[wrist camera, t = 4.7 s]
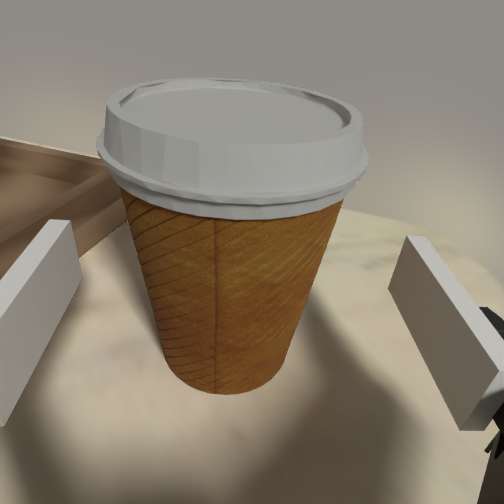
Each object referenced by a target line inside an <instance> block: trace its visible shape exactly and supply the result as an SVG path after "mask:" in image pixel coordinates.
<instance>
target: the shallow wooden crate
mask: <svg viewBox="0 0 504 504" xmlns="http://www.w3.org/2000/svg"><path fill="white" fill-rule="evenodd" d="M126 213H127V212H126V210H125V206H124V203H123V199H122V195H121V192H120V188H119V185H118V184H117V183H116V181H115V180H114V179H113V177H112V176H111V175H110V172H109V168H107V166H106V165H105V163H104V162H103V161H102V159H98V158H93V157H89V156H84V155H79V154H74V153H69V152H64V151H59V150H54V149H49V148H44V147H40V146H35V145H30V144H25V143H20V142H15V141H10V140H5V139H0V280H1V279H2V277H3V276H4V275H5V274H6V272H7V271H8V270H9V269H10V268H11V266H12V265H13V264H14V263H15V261H16V260H17V259H18V258H19V256H20V255H21V254H22V253H23V251H24V250H25V249H26V248H27V246H28V245H29V244H30V243H31V241H32V240H33V239H34V238H35V237H36V235H37V234H38V233H39V232H40V230H41V229H42V228H43V227H44V225H45V224H46V223H47V222H48V220H49V219H53V220H70V221H71V226H72V230H73V235H74V239H75V244H76V248H77V253H78V258H79V257H81V256H82V255H83V254H84V253H86V252H87V251H88V250H89V249H91V248H92V247H93V246H94V245H96V244H97V243H98V242H99V241H101V240H102V239H103V238H104V237H106V236H107V235H108V234H109V233H111V232H112V231H113V230H114V229H116V228H117V227H118V226H119V225H121V224H122V223H123V222H124V221H126V220H127V219H128V218H127V215H126Z"/></svg>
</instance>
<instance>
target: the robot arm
mask: <svg viewBox="0 0 504 504" xmlns="http://www.w3.org/2000/svg"><path fill="white" fill-rule="evenodd" d="M82 278H83V276H82V271H81V267H80V262H79V258H78V253H77V248H76V244H75V239H74V235H73V230H72V226H71V221H70V220H53V219H49V220H48V222H47V223H46V224H45V225H44V227H43V228H42V229H41V230H40V232H39V233H38V234H37V235H36V237H35V238H34V239H33V240H32V241H31V243H30V244H29V245H28V246H27V248H26V249H25V250H24V251H23V253H22V254H21V255H20V256H19V258H18V259H17V260H16V261H15V263H14V264H13V265H12V266H11V268H10V269H9V270H8V271H7V272H6V274H5V275H4V276H3V277H2V279H1V280H0V426H5V424H6V422H7V420H8V418H9V417H10V415H11V413H12V411H13V409H14V407H15V405H16V403H17V401H18V399H19V398H20V396H21V394H22V392H23V390H24V388H25V386H26V384H27V382H28V381H29V379H30V377H31V375H32V373H33V371H34V369H35V367H36V365H37V364H38V362H39V360H40V358H41V356H42V354H43V352H44V350H45V348H46V347H47V345H48V343H49V341H50V339H51V337H52V335H53V333H54V331H55V329H56V328H57V326H58V324H59V322H60V320H61V318H62V316H63V314H64V312H65V311H66V309H67V307H68V305H69V303H70V301H71V299H72V297H73V295H74V294H75V292H76V290H77V288H78V286H79V284H80V282H81V280H82ZM388 290H389V292H390V293H391V295H392V297H393V299H394V301H395V303H396V305H397V307H398V309H399V311H400V313H401V315H402V317H403V319H404V321H405V323H406V325H407V327H408V329H409V331H410V333H411V335H412V337H413V339H414V341H415V343H416V345H417V347H418V349H419V351H420V353H421V355H422V357H423V359H424V361H425V363H426V365H427V367H428V369H429V371H430V373H431V375H432V377H433V379H434V381H435V383H436V385H437V387H438V389H439V391H440V393H441V395H442V397H443V399H444V401H445V403H446V404H447V406H448V408H449V410H450V412H451V414H452V416H453V418H454V420H455V422H456V424H457V426H458V428H459V430H460V431H484V430H485V429H486V427H487V426H488V425H489V423H490V422H491V420H492V419H493V420H494V421H495V423H496V425H497V426H498V428H499V430H500V431H499V432H498V433H497V434H496V436H495V437H494V438H493V440H492V441H491V442H490V444H489V445H488V446H487V448H486V449H485V450H484V451H485V452H486V453H489V452H490V450H491V449H492V450H491V453H490V457H489V461H488V464H487V468H486V472H485V476H484V479H483V483H482V487H481V491H480V494H479V498H478V502H477V504H504V321H503V319H502V318H501V317H499V316H498V315H497V314H495V313H494V312H493V311H492V310H490V309H489V308H488V307H478V306H477V304H476V303H475V302H474V300H473V299H472V298H471V296H470V295H469V294H468V292H467V291H466V290H465V288H464V287H463V286H462V285H461V283H460V282H459V281H458V279H457V278H456V277H455V275H454V274H453V273H452V271H451V270H450V269H449V267H448V266H447V265H446V263H445V262H444V261H443V259H442V258H441V257H440V256H439V254H438V253H437V252H436V250H435V249H434V248H433V246H432V245H431V244H430V242H429V241H428V240H427V238H426V237H425V236H408V235H406V238H405V241H404V244H403V247H402V250H401V252H400V255H399V258H398V261H397V264H396V267H395V270H394V272H393V275H392V278H391V281H390V284H389V287H388Z"/></svg>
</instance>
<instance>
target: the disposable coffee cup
mask: <svg viewBox="0 0 504 504" xmlns="http://www.w3.org/2000/svg"><path fill="white" fill-rule="evenodd" d="M96 145H97V150H98V155H99V156H100V158H101V159H102V161H103V162H104V163H105V165H106V166H107V168H109V172H110V175H111V176H112V177H113V179H114V180H115V181H116V183H117V184H118V185H119V188H120V192H121V195H122V199H123V203H124V206H125V210H126V212H127V213H126V215H127V218H128V221H129V225H130V227H131V228H130V230H131V233H132V237H133V240H134V244H135V247H136V251H137V253H138V259H139V262H140V265H141V266H142V267H141V270H142V273H143V276H144V277H145V278H144V281H145V284H146V287H147V288H148V290H147V292H148V295H149V298H150V299H151V302H150V303H151V306H152V309H154V310H153V313H154V316H155V319H156V324H157V327H158V329H159V330H158V332H159V335H160V338H161V343H162V346H163V350H164V353H165V359H166V361H167V363H168V365H169V367H170V369H171V370H172V371H173V372H174V374H175V375H176V376H177V377H178V378H179V379H181V380H182V381H183V382H185V383H186V384H187V385H189V386H191V387H193V388H195V389H197V390H200V391H204V392H207V393H212V394H224V395H229V394H239V393H243V392H248V391H251V390H253V389H256V388H258V387H260V386H262V385H264V384H265V383H266V382H268V381H269V380H271V379H272V378H273V377H274V375H275V374H276V373H277V372H278V371H279V370H280V368H281V366H282V364H283V363H284V360H285V356H286V354H287V351H288V348H289V346H290V343H291V340H292V338H293V335H294V332H295V329H296V327H297V324H298V321H299V319H300V316H301V313H302V311H303V309H304V306H305V303H306V300H307V298H308V295H309V292H310V289H311V287H312V284H313V281H314V279H315V276H316V274H317V271H318V268H319V265H320V263H321V260H322V257H323V255H324V252H325V250H326V247H327V244H328V241H329V239H330V236H331V233H332V230H333V228H334V225H335V223H336V220H337V216H338V213H339V211H340V208H341V205H342V202H343V200H344V197H345V196H346V195H347V194H348V193H349V192H350V191H351V190H352V189H353V187H354V186H355V183H356V182H357V181H359V180H360V178H361V177H362V175H363V174H364V173H365V171H366V169H367V166H368V162H369V157H368V153H367V151H366V149H365V148H364V146H363V120H362V115H361V114H360V113H359V111H358V110H357V109H355V108H354V107H352V106H351V105H350V104H348V103H346V102H343V101H341V100H338V99H336V98H334V97H331V96H328V95H325V94H323V93H319V92H315V91H311V90H307V89H302V88H298V87H294V86H289V85H283V84H277V83H272V82H263V81H253V80H245V79H227V78H178V79H165V80H157V81H150V82H145V83H141V84H137V85H133V86H129V87H125V88H123V89H121V90H118V91H116V92H114V93H113V94H112V95H111V96H110V97H109V98H108V101H107V107H106V121H105V128H104V129H103V130H102V132H101V133H100V135H99V136H98V137H97V141H96Z"/></svg>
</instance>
